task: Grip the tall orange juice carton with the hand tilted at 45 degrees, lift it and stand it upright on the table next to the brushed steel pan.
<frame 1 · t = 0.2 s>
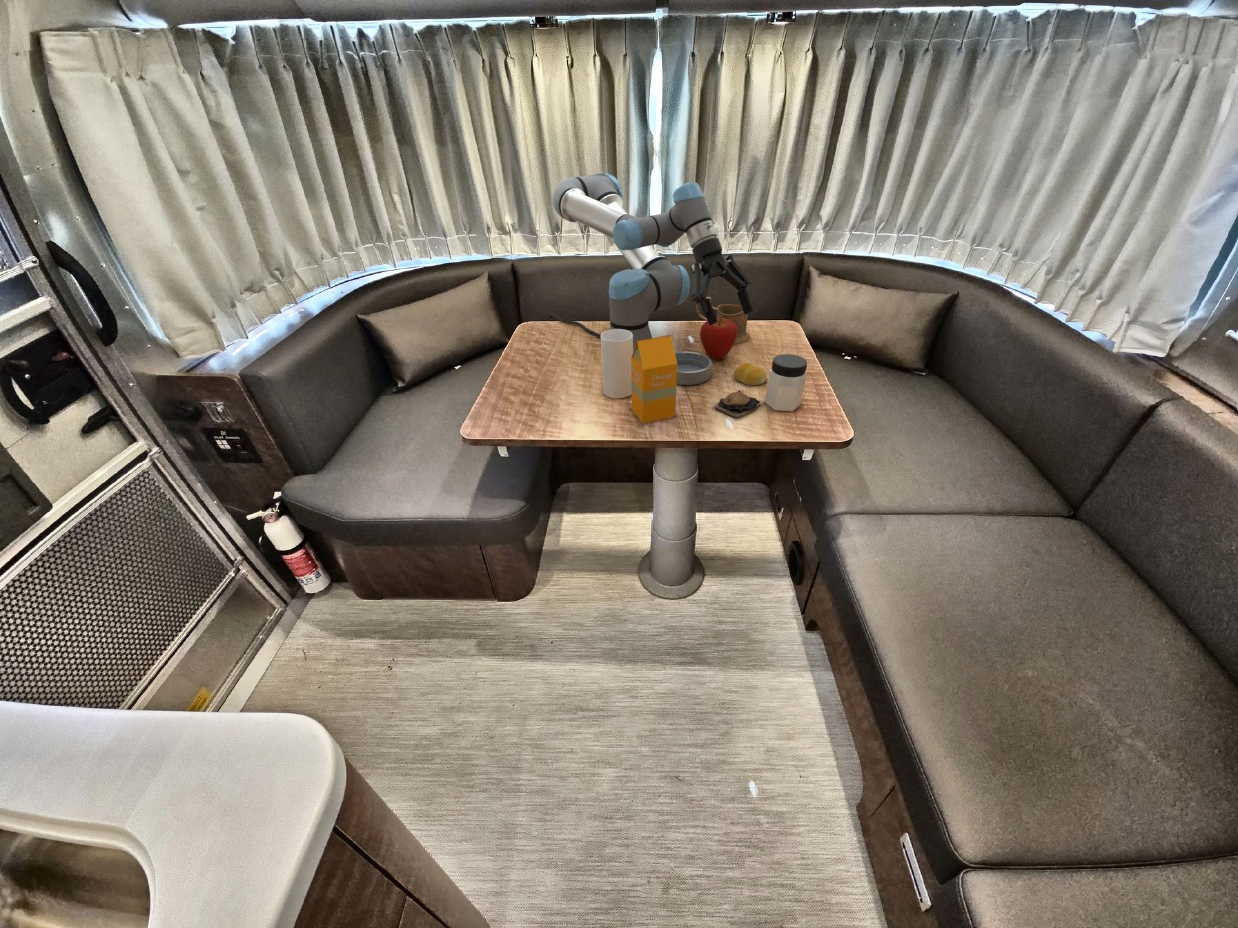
hand: (731, 318, 145), 15 cm above the table, tool tilted 35°, fingers open, 13 cm apart
orange juice: (652, 413, 134), on the table
pan: (685, 374, 152), on the table
mug: (720, 336, 174), on the table
jar: (782, 404, 137), on the table
apple: (716, 358, 161), on the table
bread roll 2: (737, 407, 136), on the table
cup: (618, 391, 144), on the table
bread roll: (749, 379, 149), on the table
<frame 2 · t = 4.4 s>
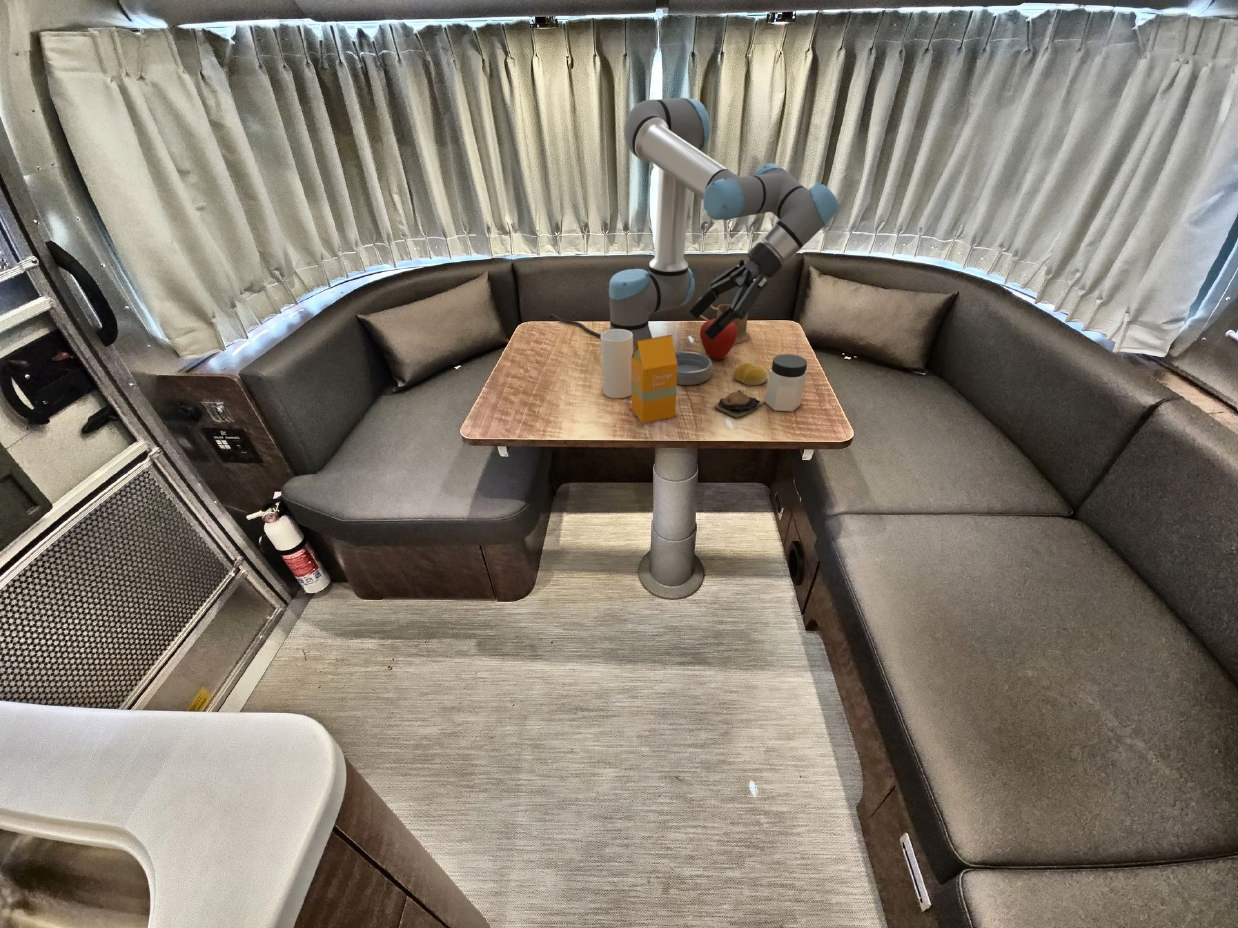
hand: (699, 325, 122), 22 cm above the table, tool tilted 45°, fingers open, 13 cm apart
nothing on the table moved.
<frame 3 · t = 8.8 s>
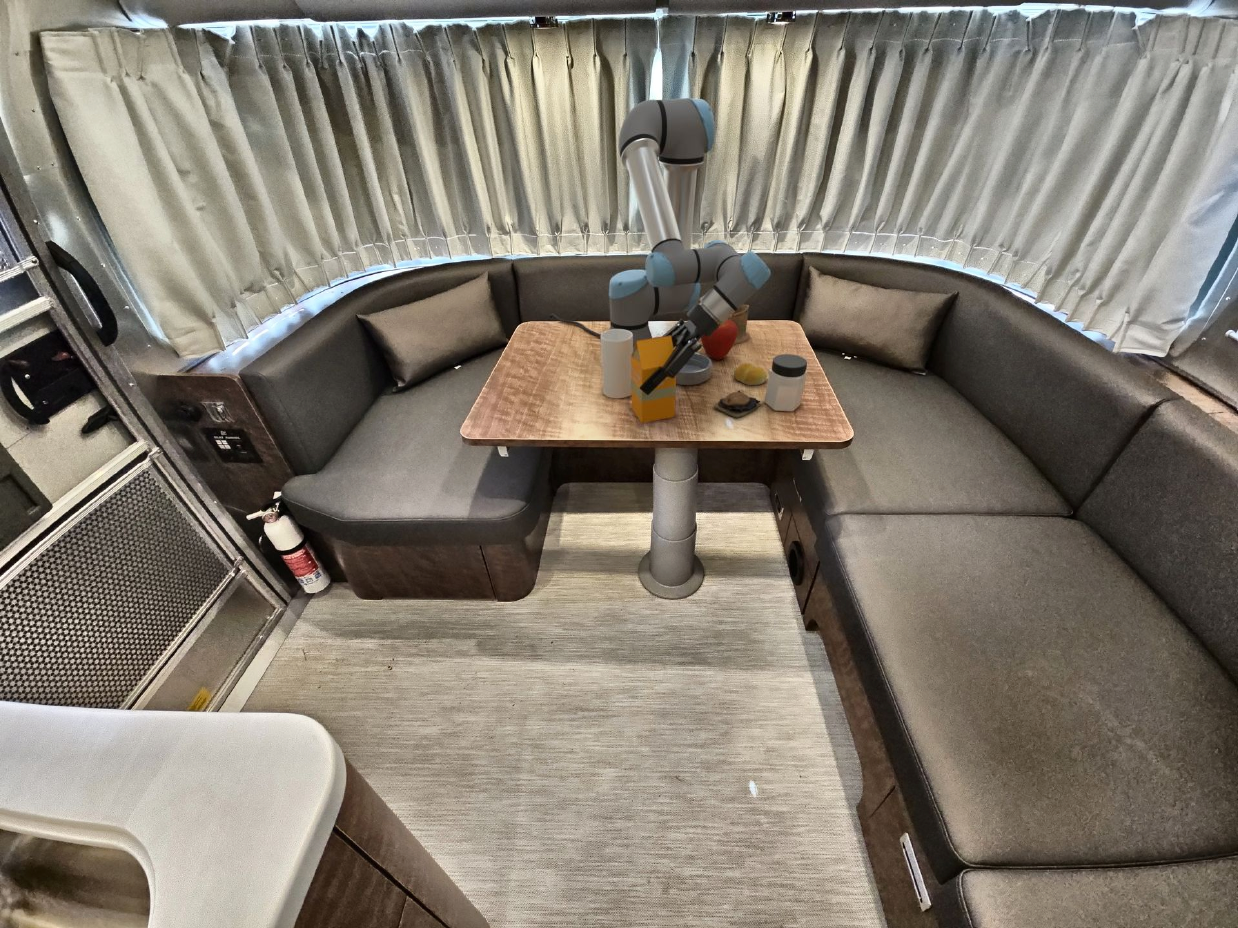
hand: (640, 382, 129), 9 cm above the table, tool tilted 45°, fingers closed on orange juice, 9 cm apart
orange juice: (652, 413, 135), on the table, touching gripper
everything else where it was.
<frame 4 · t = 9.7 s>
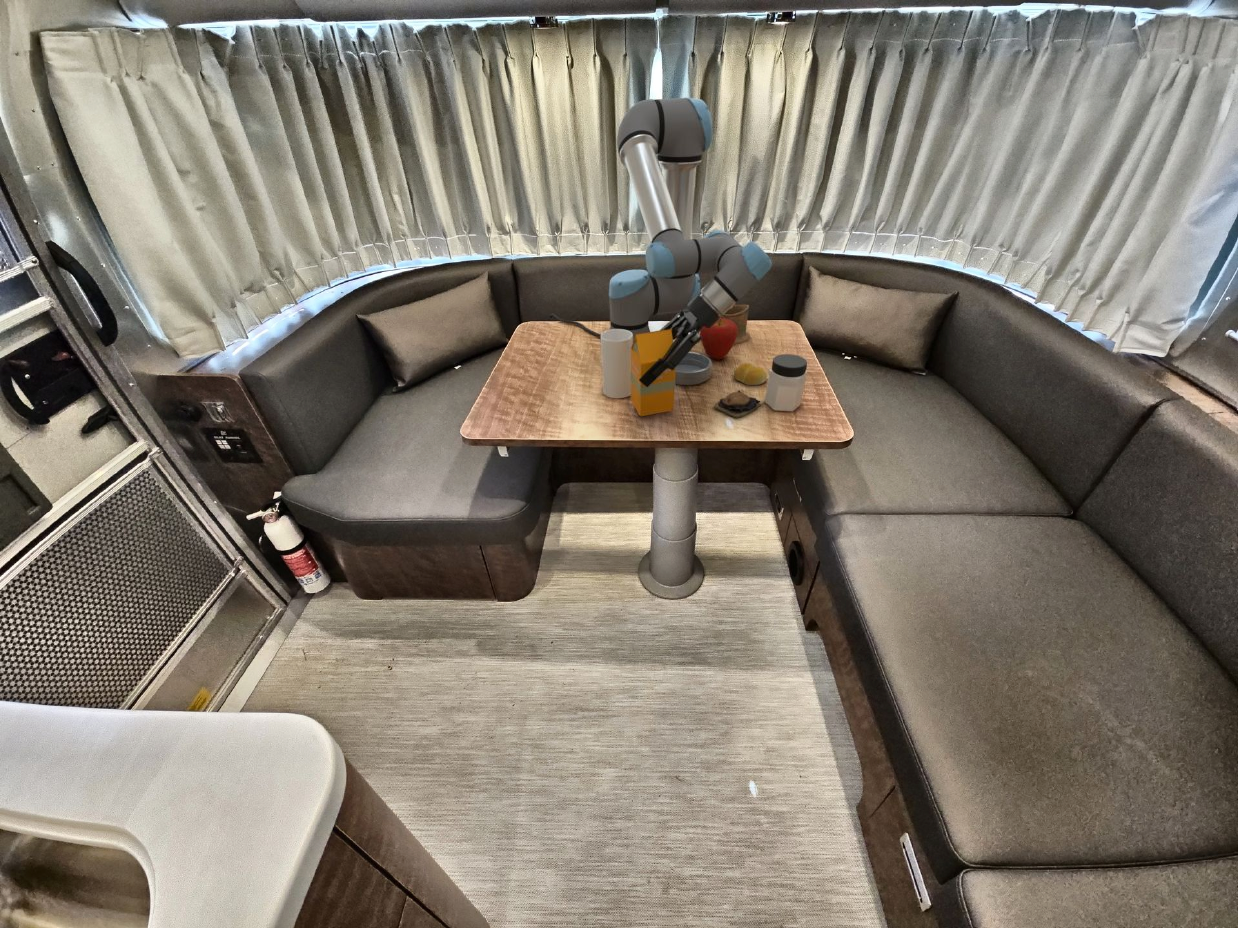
hand: (640, 374, 128), 11 cm above the table, tool tilted 45°, fingers closed on orange juice, 8 cm apart
orange juice: (651, 405, 134), point 2 cm above the table, touching gripper
everything else where it was.
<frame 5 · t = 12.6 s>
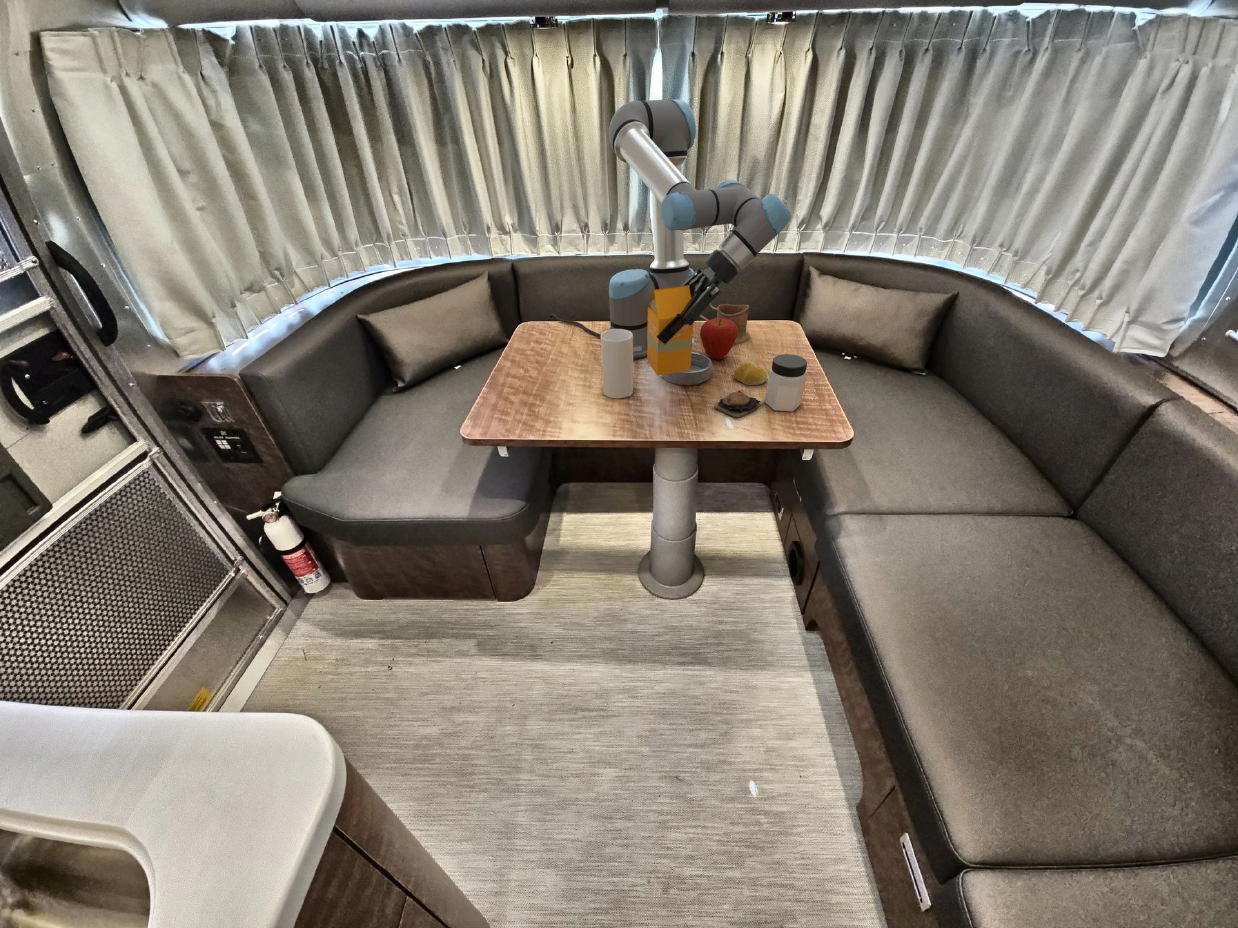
hand: (657, 333, 127), 19 cm above the table, tool tilted 45°, fingers closed on orange juice, 8 cm apart
orange juice: (668, 366, 134), point 10 cm above the table, touching gripper
everything else where it was.
when the fingers open (9 cm above the table, at t = 15.7 s): orange juice stays where it is, on the table.
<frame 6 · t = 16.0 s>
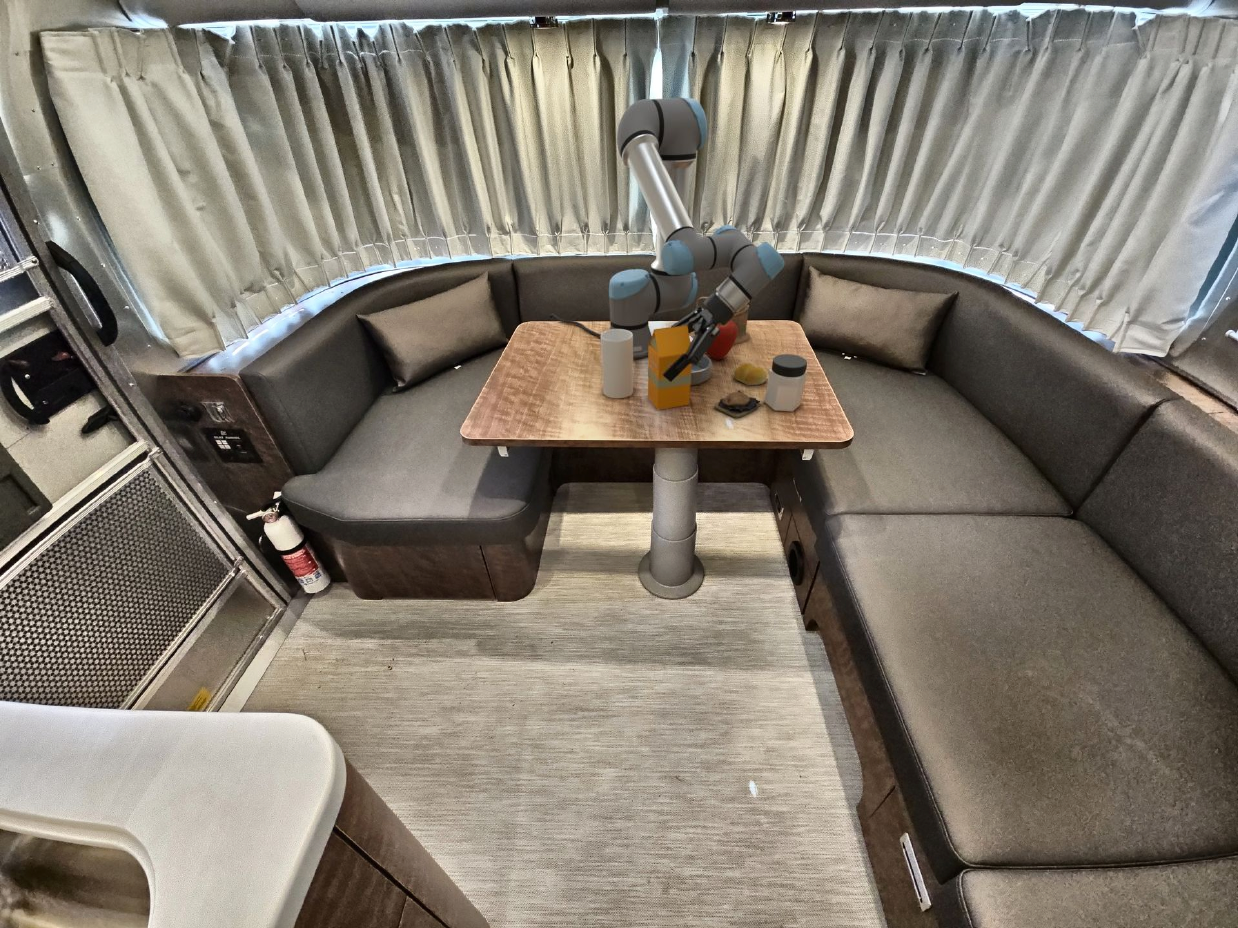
hand: (660, 366, 133), 10 cm above the table, tool tilted 45°, fingers open, 13 cm apart
orange juice: (668, 401, 140), on the table
everything else where it was.
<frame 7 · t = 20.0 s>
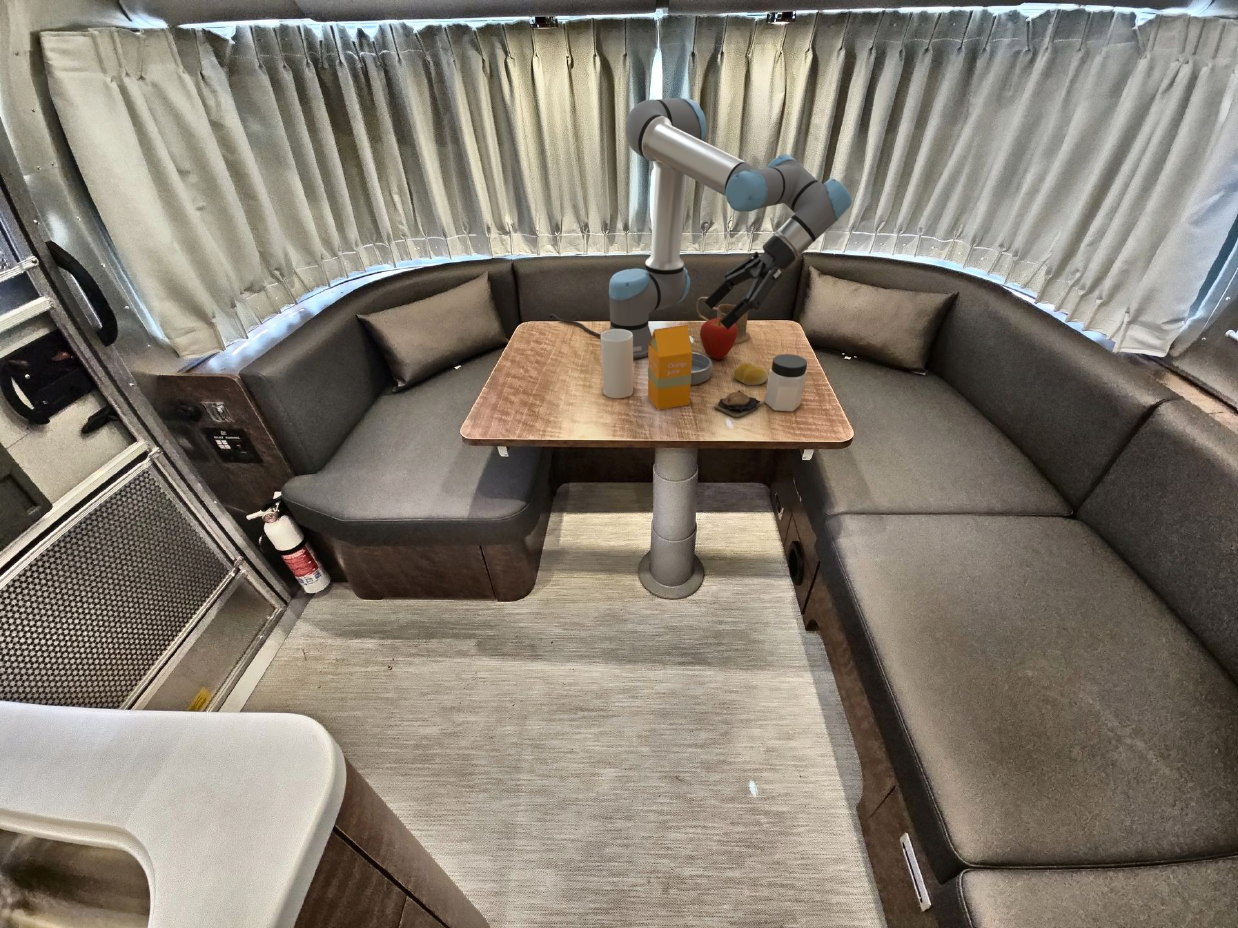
hand: (715, 315, 127), 22 cm above the table, tool tilted 45°, fingers open, 13 cm apart
nothing on the table moved.
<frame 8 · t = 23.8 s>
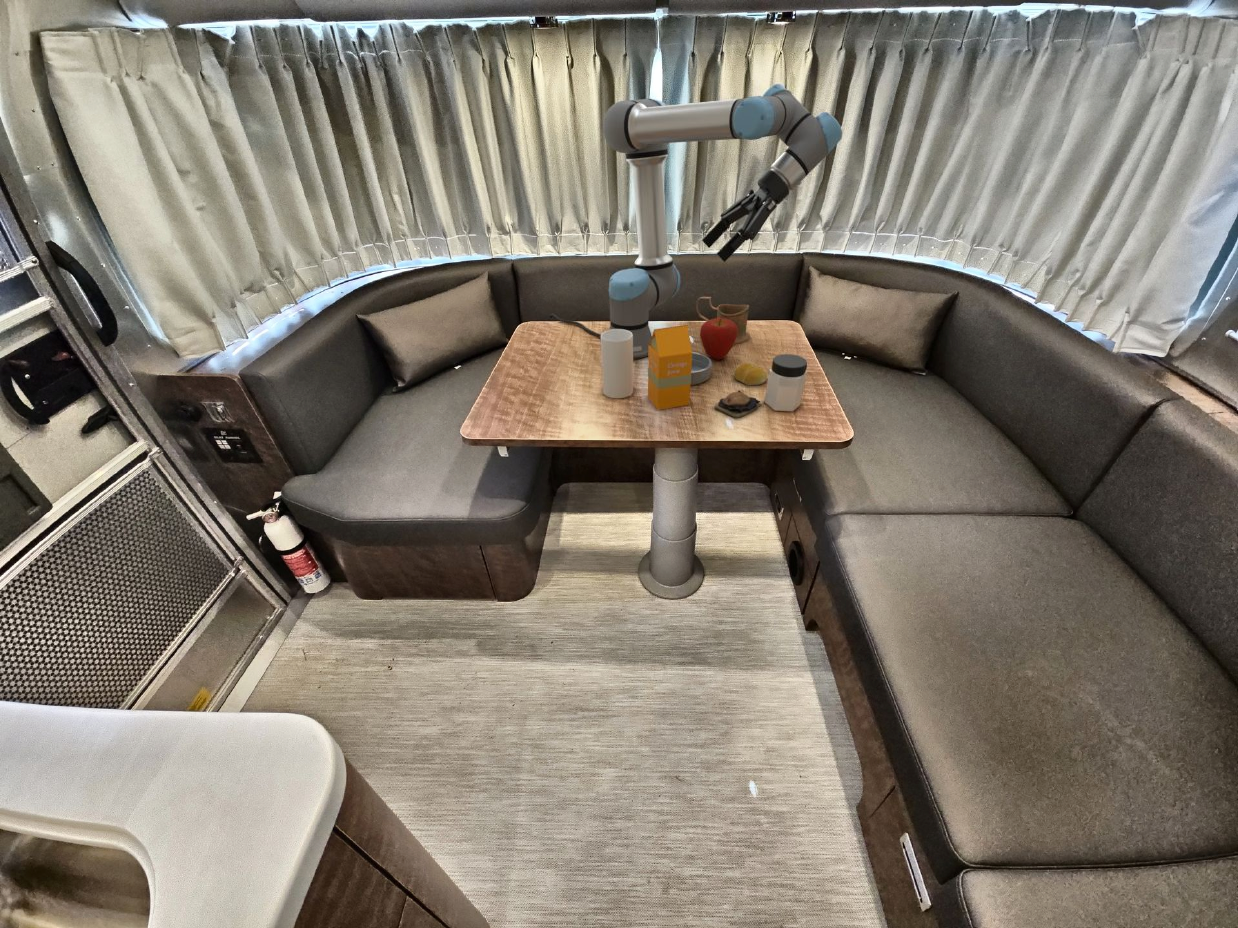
hand: (712, 251, 132), 34 cm above the table, tool tilted 45°, fingers open, 13 cm apart
nothing on the table moved.
at the end: orange juice 16.2 cm from the pan (horizontally); orange juice on the table; orange juice tilted 0° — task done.
